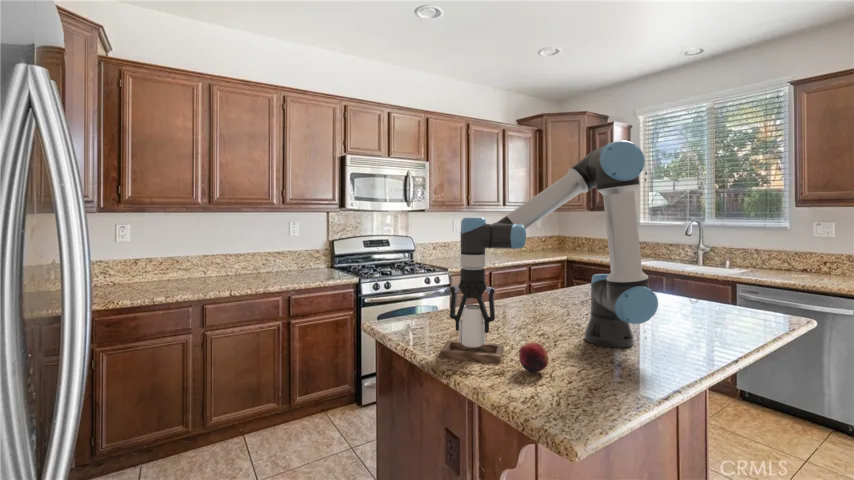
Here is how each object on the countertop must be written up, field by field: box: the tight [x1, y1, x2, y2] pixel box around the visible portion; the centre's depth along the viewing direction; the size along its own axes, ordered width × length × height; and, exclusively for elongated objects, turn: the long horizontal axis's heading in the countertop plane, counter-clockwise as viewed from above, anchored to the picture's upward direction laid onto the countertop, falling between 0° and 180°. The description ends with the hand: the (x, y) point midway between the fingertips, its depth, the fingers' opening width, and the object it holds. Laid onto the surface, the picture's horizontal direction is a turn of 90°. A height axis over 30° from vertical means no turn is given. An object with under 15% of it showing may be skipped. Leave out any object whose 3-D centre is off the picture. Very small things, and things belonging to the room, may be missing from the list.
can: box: [461, 304, 484, 348], centre depth 126 cm, size 6×6×12 cm
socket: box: [439, 340, 504, 364], centre depth 127 cm, size 18×11×2 cm, turn 75°
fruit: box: [518, 341, 549, 374], centre depth 112 cm, size 8×8×8 cm
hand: (472, 341), depth 127 cm, fingers closed on can, 6 cm apart
